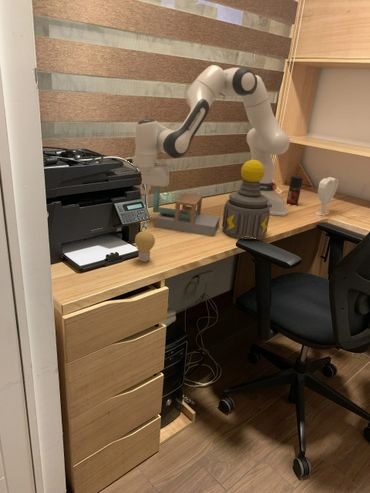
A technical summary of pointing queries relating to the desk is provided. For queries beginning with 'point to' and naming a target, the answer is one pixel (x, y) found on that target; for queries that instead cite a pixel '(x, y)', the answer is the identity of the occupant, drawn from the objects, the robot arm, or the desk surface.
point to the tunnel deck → (193, 225)
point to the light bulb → (144, 244)
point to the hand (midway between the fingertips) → (144, 194)
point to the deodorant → (294, 190)
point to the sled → (167, 210)
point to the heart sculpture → (326, 192)
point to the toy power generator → (247, 205)
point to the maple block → (187, 210)
